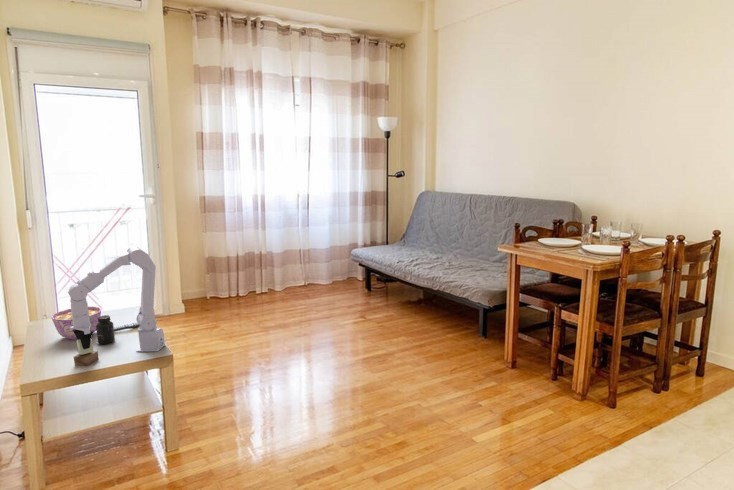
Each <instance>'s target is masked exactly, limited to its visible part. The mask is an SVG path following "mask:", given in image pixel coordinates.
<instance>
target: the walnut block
mask: <svg viewBox="0 0 734 490" xmlns="http://www.w3.org/2000/svg"><path fill="white" fill-rule="evenodd" d="M99 359H100V358H99V351H98V350H94V352H90V353H86V354H82V355H81V354H80V353H79V352H78V353H77V354H76V355H74V356H73V362H74V366H75V367H78V366H79V367H89V366H91V365H94V363H96V362H97V361H99Z"/></svg>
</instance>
